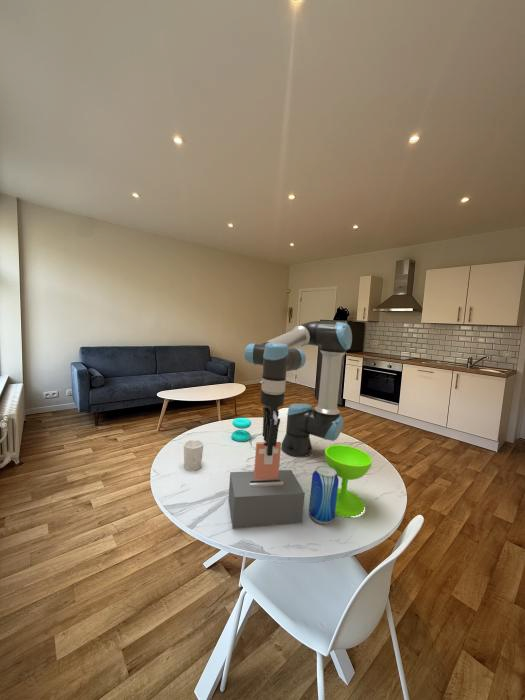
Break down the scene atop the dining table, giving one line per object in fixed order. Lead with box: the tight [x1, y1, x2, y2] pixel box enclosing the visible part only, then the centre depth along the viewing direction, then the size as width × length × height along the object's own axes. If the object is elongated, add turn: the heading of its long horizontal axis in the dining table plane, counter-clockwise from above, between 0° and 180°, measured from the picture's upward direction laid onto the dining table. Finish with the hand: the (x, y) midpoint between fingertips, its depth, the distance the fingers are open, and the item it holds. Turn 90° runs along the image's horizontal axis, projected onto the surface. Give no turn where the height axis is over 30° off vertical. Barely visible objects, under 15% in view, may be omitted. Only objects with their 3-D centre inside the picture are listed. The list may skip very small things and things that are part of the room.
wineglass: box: [324, 444, 373, 518], centre depth 101 cm, size 16×16×18 cm
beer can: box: [308, 465, 340, 525], centre depth 92 cm, size 8×8×16 cm
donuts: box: [231, 417, 252, 442], centre depth 150 cm, size 10×10×10 cm
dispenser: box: [228, 469, 305, 529], centre depth 94 cm, size 22×14×11 cm, turn 102°
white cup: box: [183, 439, 204, 472], centre depth 118 cm, size 8×8×10 cm
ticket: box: [253, 441, 282, 480], centre depth 92 cm, size 8×1×12 cm, turn 102°
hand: (267, 462), depth 92 cm, fingers closed on ticket
